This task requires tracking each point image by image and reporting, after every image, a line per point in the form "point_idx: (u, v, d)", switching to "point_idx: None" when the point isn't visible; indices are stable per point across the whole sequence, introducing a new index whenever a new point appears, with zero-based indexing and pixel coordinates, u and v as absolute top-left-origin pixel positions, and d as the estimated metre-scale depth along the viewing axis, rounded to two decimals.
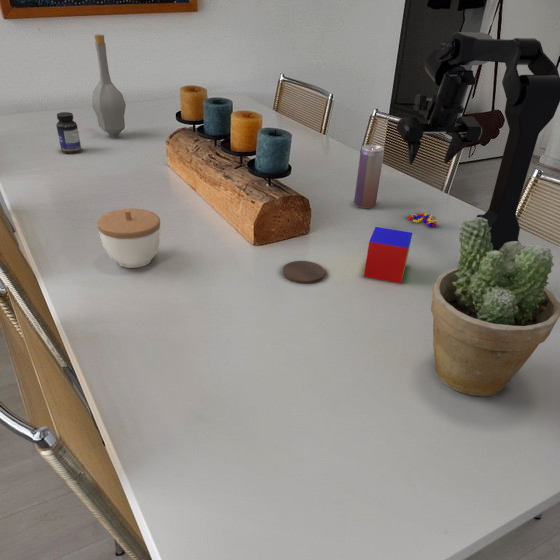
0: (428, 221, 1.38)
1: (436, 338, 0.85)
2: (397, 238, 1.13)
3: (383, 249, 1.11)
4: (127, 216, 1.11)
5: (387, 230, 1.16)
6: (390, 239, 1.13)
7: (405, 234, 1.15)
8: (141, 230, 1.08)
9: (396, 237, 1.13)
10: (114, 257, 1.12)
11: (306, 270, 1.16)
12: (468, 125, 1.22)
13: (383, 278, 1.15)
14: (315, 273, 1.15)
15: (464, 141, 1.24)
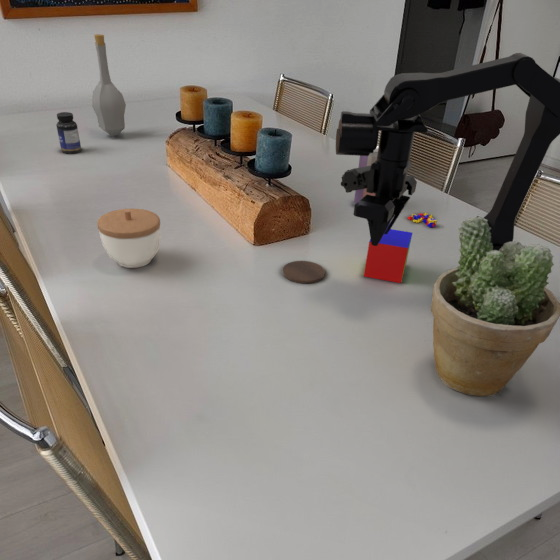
0: (428, 221, 1.38)
1: (436, 338, 0.85)
2: (397, 238, 1.13)
3: (383, 249, 1.11)
4: (127, 216, 1.11)
5: None
6: (391, 239, 1.13)
7: (405, 234, 1.15)
8: (141, 230, 1.08)
9: (396, 237, 1.13)
10: (114, 257, 1.12)
11: (306, 270, 1.16)
12: (406, 180, 1.03)
13: (383, 278, 1.15)
14: (315, 273, 1.15)
15: (406, 200, 1.03)
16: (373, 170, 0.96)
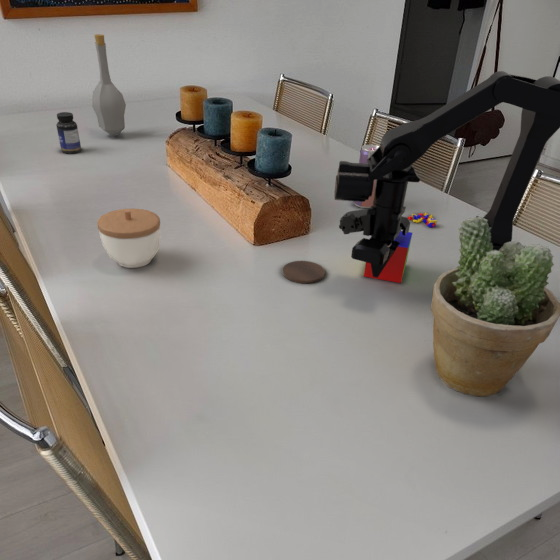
0: (428, 221, 1.38)
1: (436, 338, 0.85)
2: (397, 238, 1.13)
3: None
4: (127, 216, 1.11)
5: None
6: None
7: None
8: (141, 230, 1.08)
9: (396, 237, 1.14)
10: (114, 257, 1.12)
11: (306, 270, 1.16)
12: (400, 221, 1.09)
13: (383, 278, 1.15)
14: (315, 273, 1.15)
15: (395, 246, 1.07)
16: (369, 215, 1.03)
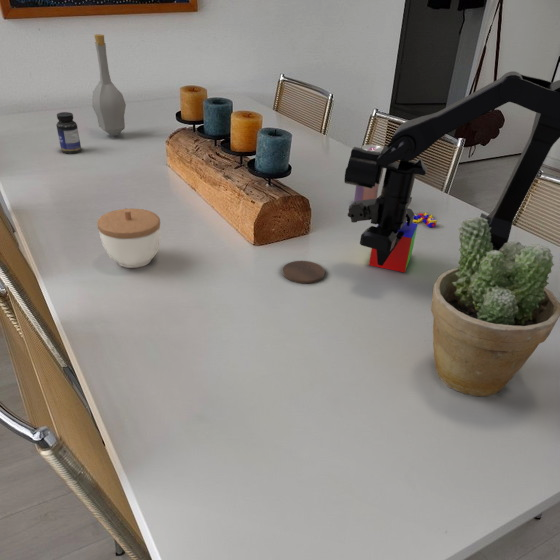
0: (428, 221, 1.38)
1: (436, 338, 0.85)
2: (402, 228, 1.17)
3: None
4: (127, 216, 1.11)
5: None
6: None
7: (410, 225, 1.19)
8: (141, 230, 1.08)
9: (401, 228, 1.17)
10: (114, 257, 1.12)
11: (306, 270, 1.16)
12: None
13: (387, 267, 1.19)
14: (315, 273, 1.15)
15: (400, 236, 1.12)
16: (377, 204, 1.07)
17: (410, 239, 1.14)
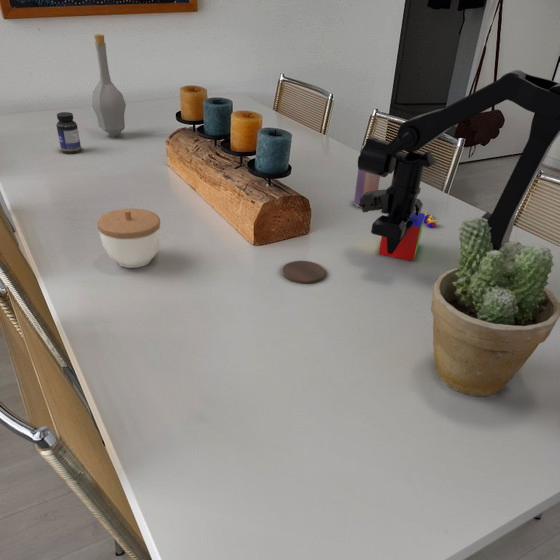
0: (428, 221, 1.38)
1: (436, 338, 0.85)
2: (411, 218, 1.22)
3: None
4: (127, 216, 1.11)
5: None
6: None
7: (418, 215, 1.23)
8: (141, 230, 1.08)
9: None
10: (114, 257, 1.12)
11: (306, 270, 1.16)
12: None
13: (397, 256, 1.24)
14: (315, 273, 1.15)
15: (410, 225, 1.16)
16: (388, 194, 1.11)
17: (419, 228, 1.18)
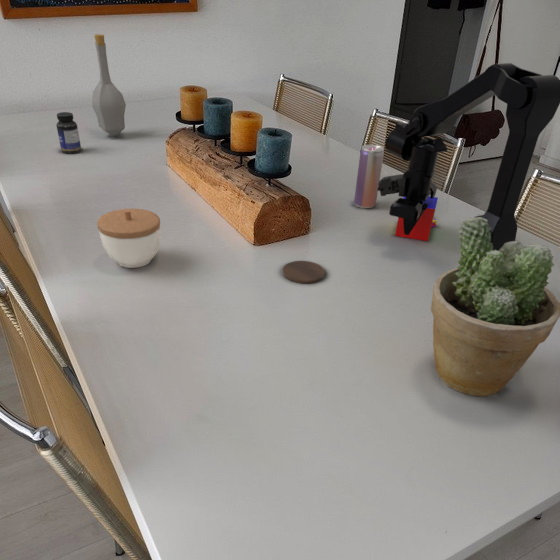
0: None
1: (436, 338, 0.85)
2: (425, 201, 1.30)
3: None
4: (127, 216, 1.11)
5: None
6: None
7: None
8: (141, 230, 1.08)
9: (424, 201, 1.30)
10: (114, 257, 1.12)
11: (306, 270, 1.16)
12: None
13: (412, 237, 1.32)
14: (315, 273, 1.15)
15: (425, 207, 1.25)
16: (405, 178, 1.20)
17: (433, 210, 1.27)
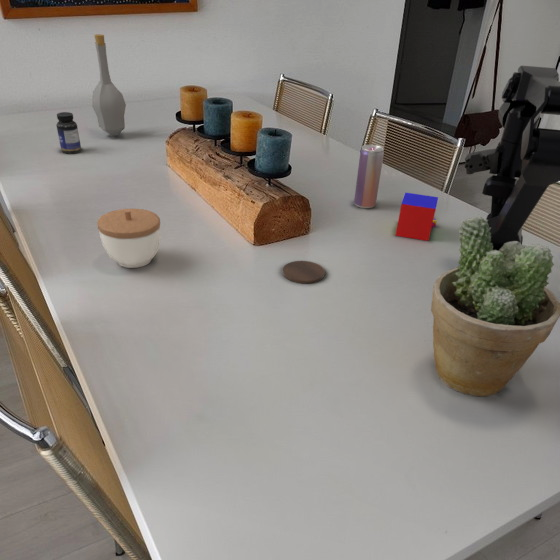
0: None
1: (436, 338, 0.85)
2: (425, 201, 1.30)
3: (413, 210, 1.29)
4: (127, 216, 1.11)
5: (416, 195, 1.33)
6: (420, 202, 1.30)
7: (431, 198, 1.32)
8: (141, 230, 1.08)
9: (424, 200, 1.31)
10: (114, 257, 1.12)
11: (306, 270, 1.16)
12: None
13: (412, 237, 1.32)
14: (315, 273, 1.15)
15: None
16: (498, 153, 1.06)
17: (434, 210, 1.27)
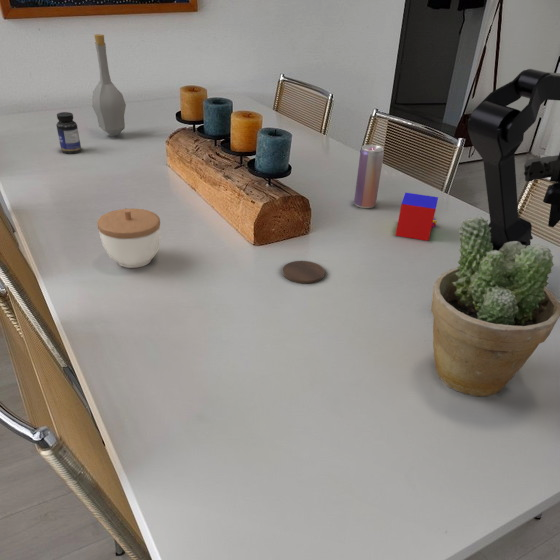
0: None
1: (436, 338, 0.85)
2: (425, 201, 1.30)
3: (413, 210, 1.29)
4: (127, 216, 1.11)
5: (416, 195, 1.33)
6: (420, 202, 1.30)
7: (432, 198, 1.32)
8: (141, 230, 1.08)
9: (424, 200, 1.31)
10: (114, 257, 1.12)
11: (306, 270, 1.16)
12: None
13: (412, 237, 1.32)
14: (315, 273, 1.15)
15: None
16: None
17: (434, 210, 1.27)
